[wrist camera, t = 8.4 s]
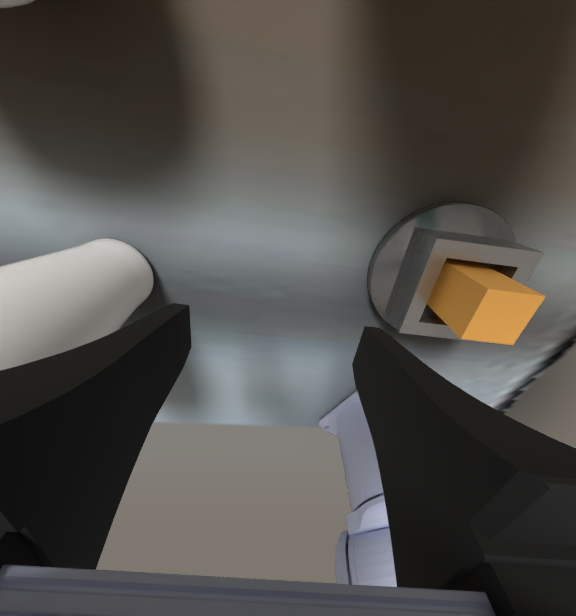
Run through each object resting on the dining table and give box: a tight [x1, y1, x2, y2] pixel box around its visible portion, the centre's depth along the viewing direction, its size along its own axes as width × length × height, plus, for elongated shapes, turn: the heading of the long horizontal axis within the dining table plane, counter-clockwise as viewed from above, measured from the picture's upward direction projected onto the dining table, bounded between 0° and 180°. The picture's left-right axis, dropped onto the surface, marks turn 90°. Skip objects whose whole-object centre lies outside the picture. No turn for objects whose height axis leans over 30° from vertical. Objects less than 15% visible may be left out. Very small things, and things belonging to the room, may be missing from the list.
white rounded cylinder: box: [0, 238, 154, 371], centre depth 14 cm, size 7×7×15 cm
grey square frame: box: [367, 202, 544, 343], centre depth 18 cm, size 10×10×4 cm
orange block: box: [427, 258, 546, 345], centre depth 16 cm, size 3×3×6 cm
